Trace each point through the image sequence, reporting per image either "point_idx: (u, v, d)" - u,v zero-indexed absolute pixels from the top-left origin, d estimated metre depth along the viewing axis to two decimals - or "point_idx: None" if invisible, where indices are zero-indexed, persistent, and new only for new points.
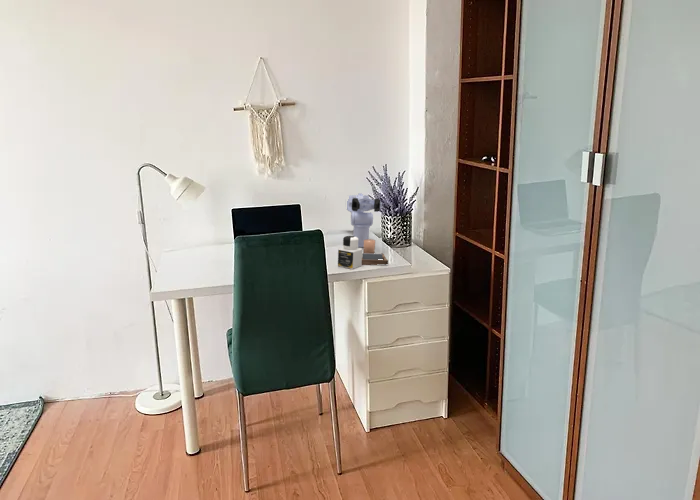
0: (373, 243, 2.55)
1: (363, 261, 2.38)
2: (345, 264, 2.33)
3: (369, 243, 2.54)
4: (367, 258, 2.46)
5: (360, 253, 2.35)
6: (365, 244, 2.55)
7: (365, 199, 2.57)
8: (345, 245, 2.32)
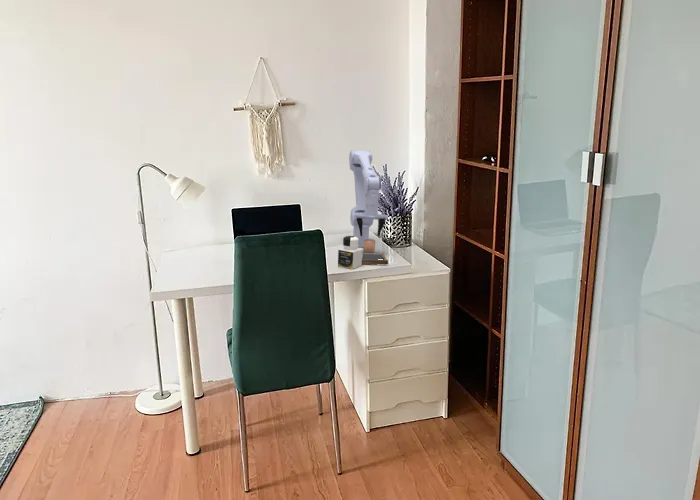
0: (373, 243, 2.55)
1: (363, 261, 2.38)
2: (345, 264, 2.33)
3: (369, 243, 2.54)
4: (367, 258, 2.46)
5: (360, 253, 2.35)
6: (365, 244, 2.55)
7: None
8: (345, 245, 2.32)
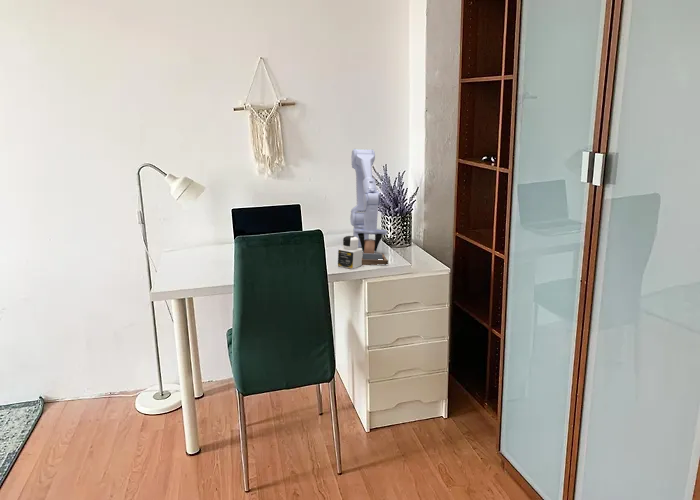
0: (373, 243, 2.55)
1: (363, 261, 2.38)
2: (345, 264, 2.33)
3: (369, 243, 2.54)
4: (367, 258, 2.46)
5: (360, 253, 2.35)
6: (365, 244, 2.55)
7: None
8: (345, 245, 2.32)
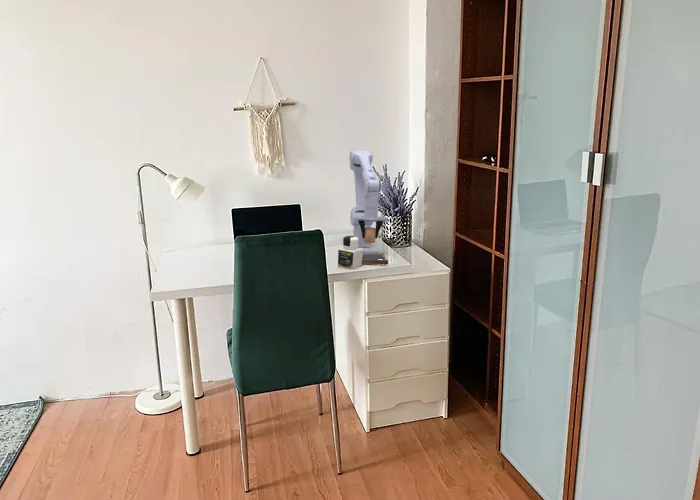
0: (374, 231, 2.53)
1: (363, 261, 2.38)
2: (345, 264, 2.33)
3: (370, 231, 2.53)
4: (367, 258, 2.46)
5: (360, 253, 2.35)
6: (366, 232, 2.54)
7: None
8: (345, 245, 2.32)
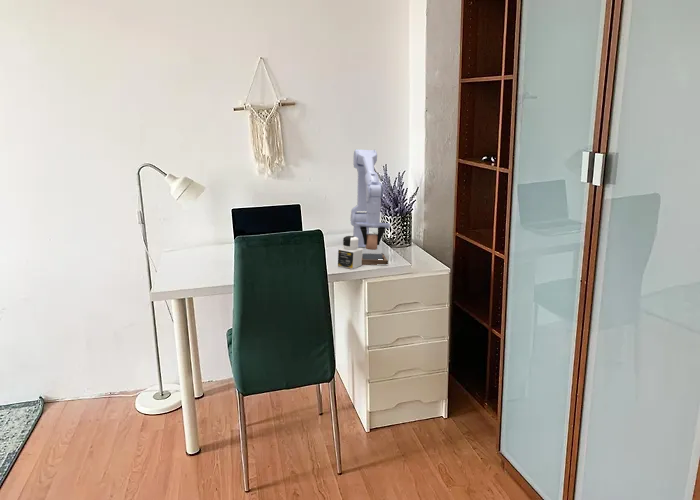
0: (376, 237, 2.47)
1: (363, 261, 2.38)
2: (345, 264, 2.33)
3: (372, 237, 2.46)
4: (367, 258, 2.46)
5: (360, 253, 2.35)
6: (367, 238, 2.47)
7: None
8: (345, 245, 2.32)
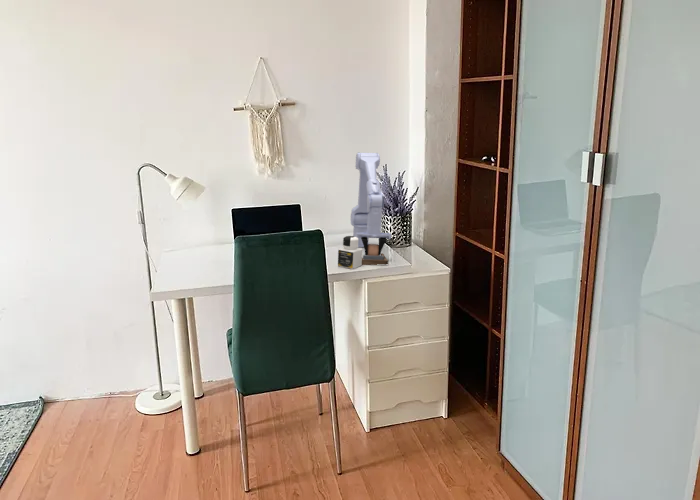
0: (377, 248, 2.44)
1: (363, 261, 2.38)
2: (345, 264, 2.33)
3: (373, 248, 2.43)
4: None
5: (360, 253, 2.35)
6: (368, 249, 2.44)
7: None
8: (345, 245, 2.32)
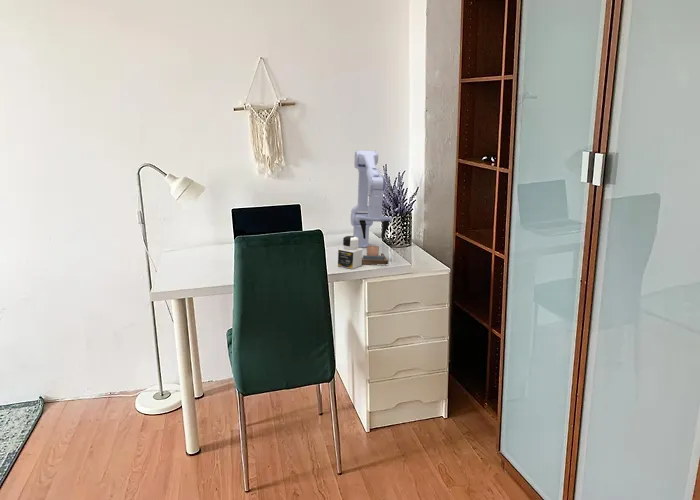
0: (377, 249, 2.44)
1: (363, 261, 2.38)
2: (345, 264, 2.33)
3: (372, 249, 2.43)
4: None
5: (360, 253, 2.35)
6: (368, 250, 2.44)
7: None
8: (345, 245, 2.32)
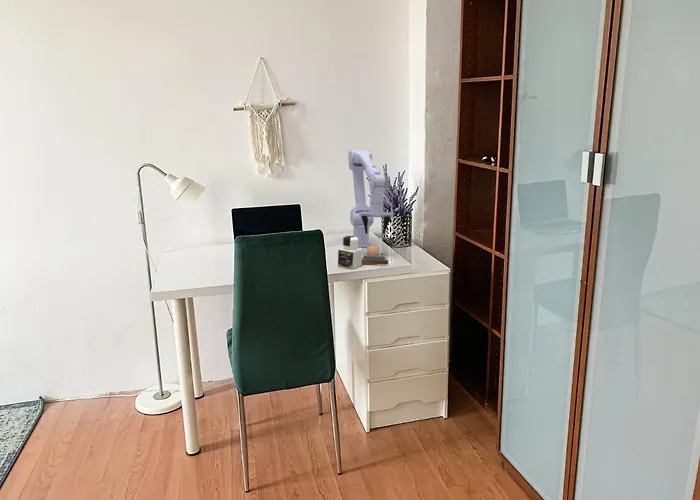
0: (377, 249, 2.44)
1: (363, 261, 2.38)
2: (345, 264, 2.33)
3: (372, 249, 2.43)
4: None
5: (360, 253, 2.35)
6: (368, 250, 2.44)
7: None
8: (345, 245, 2.32)
